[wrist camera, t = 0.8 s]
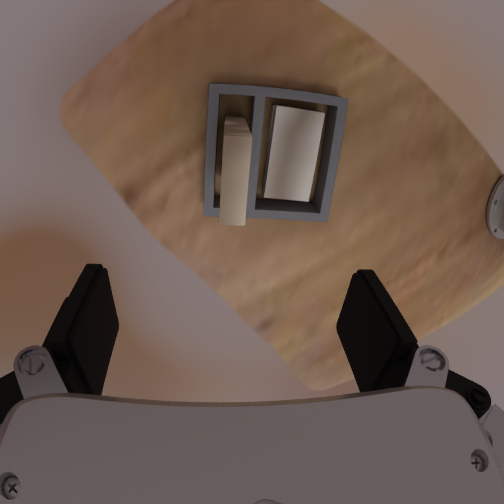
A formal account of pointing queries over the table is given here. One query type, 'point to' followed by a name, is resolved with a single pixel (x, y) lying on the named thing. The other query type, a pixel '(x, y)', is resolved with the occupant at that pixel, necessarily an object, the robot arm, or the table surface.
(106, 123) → the table surface
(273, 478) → the robot arm
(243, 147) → the birch sheet
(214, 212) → the rack
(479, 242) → the table surface
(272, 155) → the offcut upper
